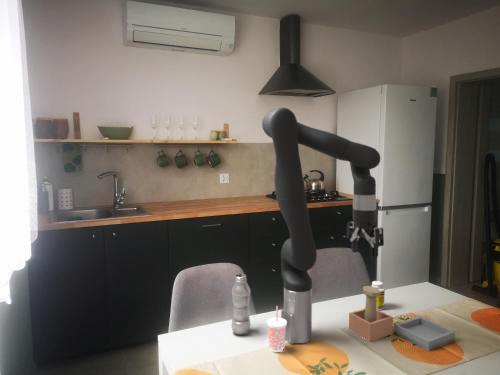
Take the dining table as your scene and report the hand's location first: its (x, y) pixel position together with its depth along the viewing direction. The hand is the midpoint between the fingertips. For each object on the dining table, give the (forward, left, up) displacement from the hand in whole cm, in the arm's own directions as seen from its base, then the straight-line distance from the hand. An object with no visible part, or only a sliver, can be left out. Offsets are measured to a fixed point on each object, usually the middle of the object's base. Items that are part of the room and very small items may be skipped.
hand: (364, 254), depth 125 cm
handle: (+2, -2, -27) cm, 27 cm away
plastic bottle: (-37, +19, -27) cm, 50 cm away
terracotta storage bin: (+2, -2, -27) cm, 27 cm away
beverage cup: (-32, +4, -27) cm, 42 cm away
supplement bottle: (+19, +11, -27) cm, 35 cm away
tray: (+15, -13, -27) cm, 33 cm away
